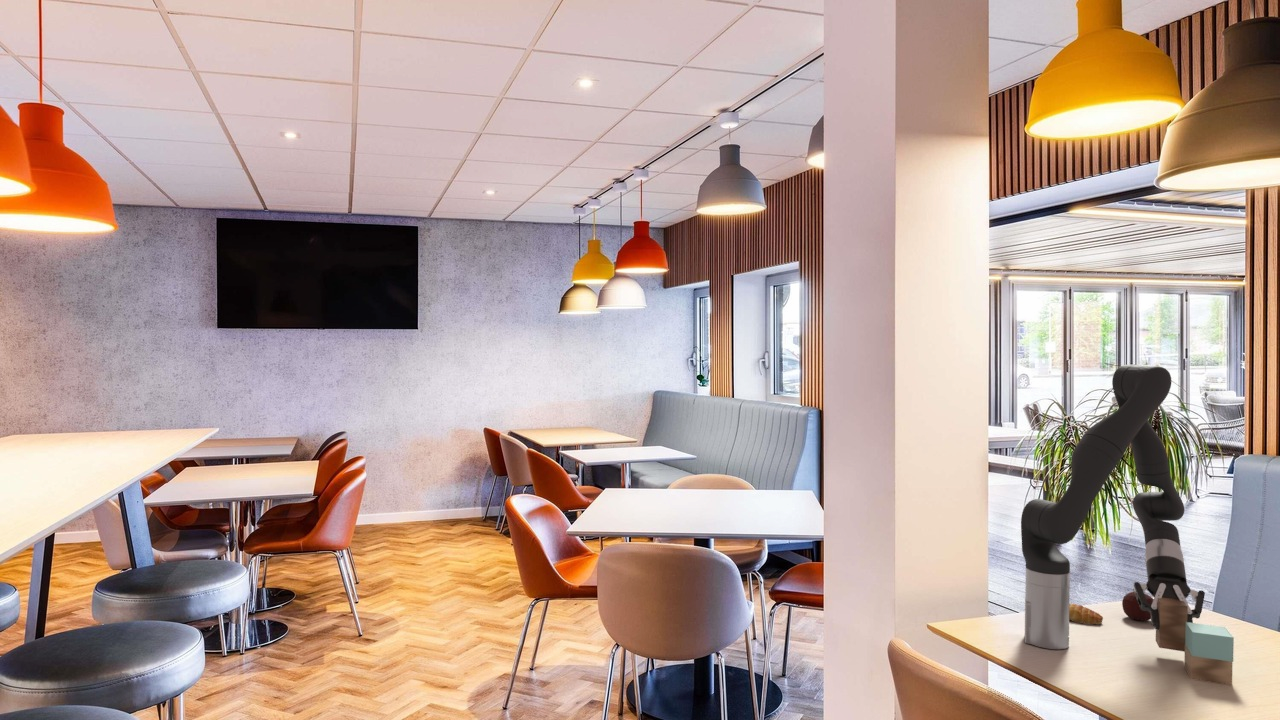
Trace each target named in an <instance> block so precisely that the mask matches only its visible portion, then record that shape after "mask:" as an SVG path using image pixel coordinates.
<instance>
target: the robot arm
mask: <svg viewBox="0 0 1280 720" xmlns="http://www.w3.org/2000/svg"><path fill="white" fill-rule="evenodd" d="M1111 381H1112V384H1111V385H1112V390H1113V394H1114V397H1115V401H1116V403H1117V406H1118V409H1117V410H1116V411H1114V412H1112V413H1110V414H1109V415H1108V416H1107V415H1106V416H1105V418H1103V419H1101V420H1099V421H1098V422H1096V423H1095V424H1093V425H1092V426H1091V427H1089V428H1088V429H1087V430H1086V432H1084V433H1083V435H1082V436H1081V438H1080V439H1079V441H1078V443H1077V445H1075V447H1074V449H1073V451H1072V453H1071V458H1070V459H1071V460H1070V472H1071V474H1070V483H1069V485H1068V487H1067V489H1066V491H1065V492H1064V494H1063V495H1062V496H1061V498H1059V500H1058V501H1057V502H1055V501H1051V500H1046V499H1040V498H1035V499H1031V500H1030V501H1028V502H1027V503H1026V504H1025V506H1024V508H1023V510H1022V513H1021V518H1020V530H1021V531H1020V532H1021V534H1020V536H1021V537H1020V538H1021V551H1022V555H1023V558H1024V560H1025V589H1024V590H1025V593H1024V643H1025V644H1030V645H1032V646H1036V647H1039V648H1042V649H1049V650H1064V649H1068V648H1069V645H1070V619H1069V604H1070V598H1071V597H1070V596H1071V595H1070V594H1071V593H1070V591H1071V590H1070V585H1071V580H1070V579H1071V575H1070V574H1071V573H1070V572H1071V571H1070V570H1071V563H1070V561H1069V558H1067V557H1066V556H1065V555H1064V554H1063V553H1062V552H1061V551H1060V549H1059V548H1058V547H1057V545H1064V544H1067V543H1069V542H1071V541H1072V540H1073V539H1074V538H1075V537H1076V535H1077V534H1078V532H1079V530H1080V528H1081V527H1082V525H1083V523H1084V521H1085V520H1086V517H1087V515H1088V514H1089V511H1090V509H1091V507H1092V505H1093V503H1094V501H1095V499H1096V498H1097V496H1098V494H1099V492H1100V491H1101V490H1102V487H1103V486H1104V485H1105V483H1106V481H1107V479H1109V476H1110V475H1111V474H1112V473H1113V471H1114V469H1115V468H1116V467H1117V465H1118V463H1119V462H1120V460H1121V459H1122V458H1123V457H1124V454H1125V453H1126V451H1127V449H1128V447H1129V446H1130V445H1131V449H1132V450H1131V451H1132V454H1133V461H1134V467H1135V468H1134V469H1135V474H1136V478H1137V481H1138V482H1139V484H1142V485H1144V486H1149V487H1155V488H1158V489H1160V490H1162V491H1153V492H1152V491H1150V492H1148V491H1146V492H1139V493H1137V494H1136V495H1134V498H1133V499H1132V508H1133V511H1134V513H1135V516H1136V517H1137V519H1138V521H1139V523H1140V525H1141V528H1142V531H1143V537H1144V544H1145V546H1144V547H1145V551H1144V552H1145V553H1144V556H1145V559H1144V560H1145V561H1144V563H1145V567H1146V575H1147V576H1146V577H1147V578H1146V579H1147V581H1146V583H1140V582H1139V581H1138V582H1137V581H1135V582H1134V583H1133V589H1132V590H1133V591H1132V592H1134V593H1135V596H1136V599H1137V601H1138V604H1139V606H1140V609H1141V610H1142V611H1148V612H1149V613H1150V615H1151V619H1150V622H1151V626H1152V627H1154V629H1155V630H1156V629H1158V630H1159V627H1160V621H1159V612H1158V610H1157V608H1158V598H1162V597H1163V598H1170V599H1178V600H1180V601H1184V602H1185V603H1186V605H1187V606H1188V611H1187V622H1190V623H1194V621H1193V619H1200V616H1201V614H1202V611H1203V605H1204V601H1205V596H1206V595H1205V594H1206V592H1205V591H1204V590H1198V591H1197V590H1194V589H1192V588H1191V587H1190V586H1189V585H1188V581H1187V576H1186V575H1187V574H1186V569H1185V568H1186V566H1185V560H1184V554H1183V551H1182V547H1181V546H1182V545H1181V541H1180V533H1179V530H1178V528H1177V526H1176V525H1174V523H1171V522H1173V521H1179V520H1181V519H1182V518H1183V516H1184V514H1185V504H1184V502H1183V500H1182V498H1181V496H1180V494H1179V492H1178V491H1177V489H1176V487H1175V484H1174V482H1173V479H1172V476H1171V470H1170V465H1169V458H1168V453H1167V450H1166V447H1165V444H1164V443H1163V441H1162V440H1161V438H1160V436H1159V435H1158V434H1157V432H1156V431H1155V429H1154V428H1153V427H1152V425H1151V423H1150V422H1149V418H1151V417H1152V416H1153V415H1154V413H1155V412H1156V411H1157V410H1158V408H1160V406H1161V404H1163V402H1164V401H1165V400H1166V398H1167V397H1168V394H1169V393H1170V390H1171V387H1172V377H1171V374H1170V371H1169V370H1168V369H1166V368H1165V367H1163V366H1159V365H1153V364H1152V365H1151V364H1123V365H1121V366H1119V367H1118V368H1117V369H1116V370H1115V371H1114V372H1113V375H1112V380H1111ZM1169 521H1171V522H1169ZM1146 591H1148V592H1149V594H1150V595H1151V596H1152V598H1153V599H1154V600H1153V603H1152V605H1151V604H1149V603H1148V602H1147V600H1146V597H1145V595H1144V594H1146ZM1189 596H1191V598H1192V601H1193V602H1195V604H1194V608H1193V609H1191V607H1190V606H1189V604H1188V601H1187V598H1188V597H1189Z"/></svg>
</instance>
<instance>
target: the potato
mask: <svg viewBox="0 0 1280 720" xmlns="http://www.w3.org/2000/svg"><path fill="white" fill-rule="evenodd" d="M1144 595H1145V597H1146V600H1147V602H1148V603H1149V604H1151V605H1152V603H1153V600H1154V597H1153V596H1152V597H1151V596H1150V595H1148V594H1146V593H1144ZM1121 603H1122V604H1121V606H1122V610H1123V612H1124V614H1125V615H1126V616H1127V617H1128V618H1130V619H1133V620H1136V621H1140V622H1141V621H1143V622H1144V621H1145V622H1146V621H1150V620H1151V615H1150V613H1149V612H1148V611H1142V610H1141V609H1140V606H1139V604H1138V601H1137V599H1136V596H1135V593H1134V591H1130V592H1128V593H1126V594H1125V595H1124V596H1123V598H1122V601H1121Z"/></svg>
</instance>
